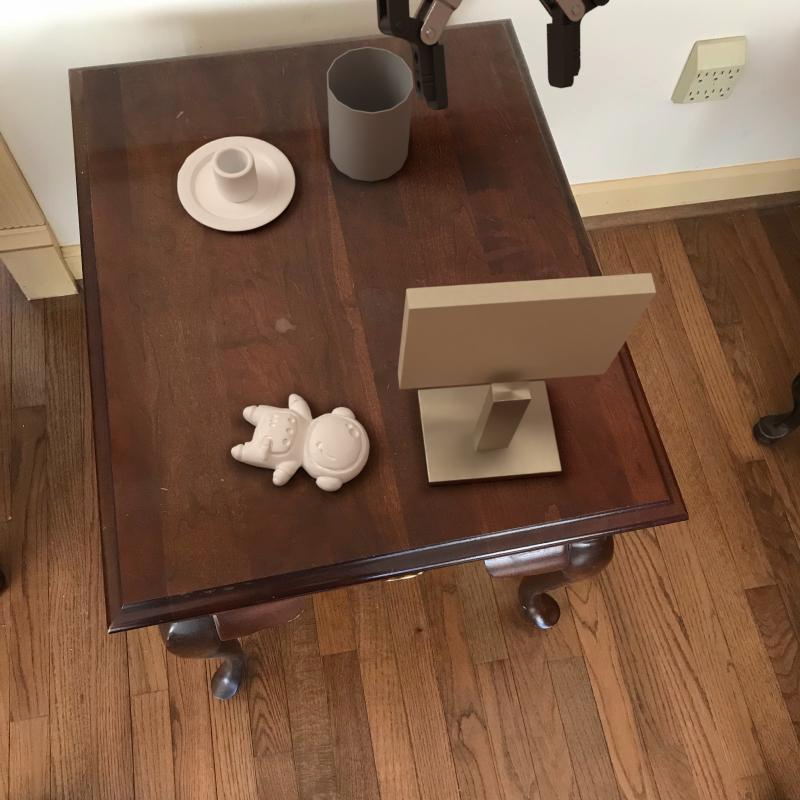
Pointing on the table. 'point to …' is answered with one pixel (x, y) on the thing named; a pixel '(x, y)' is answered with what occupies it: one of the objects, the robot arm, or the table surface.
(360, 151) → the cup
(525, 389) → the monitor stand
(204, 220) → the candle holder
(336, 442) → the astronaut figurine
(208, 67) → the table surface
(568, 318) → the monitor screen
